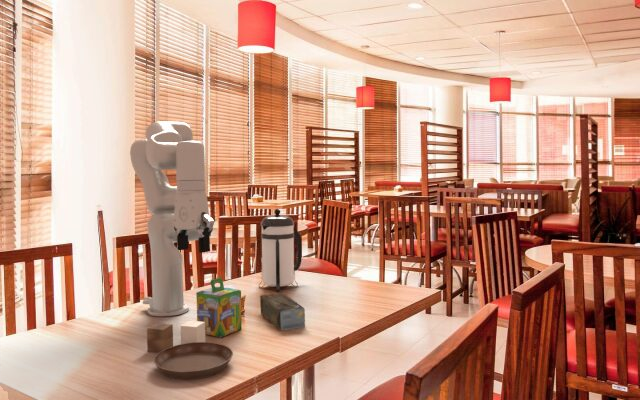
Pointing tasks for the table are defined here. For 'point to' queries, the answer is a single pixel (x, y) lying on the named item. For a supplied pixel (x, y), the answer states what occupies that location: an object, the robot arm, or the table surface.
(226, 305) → the chalk box
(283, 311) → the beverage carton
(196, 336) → the cream block
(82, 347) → the table surface
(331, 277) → the table surface
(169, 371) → the plant saucer
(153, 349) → the walnut block
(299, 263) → the coffee press
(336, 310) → the table surface
